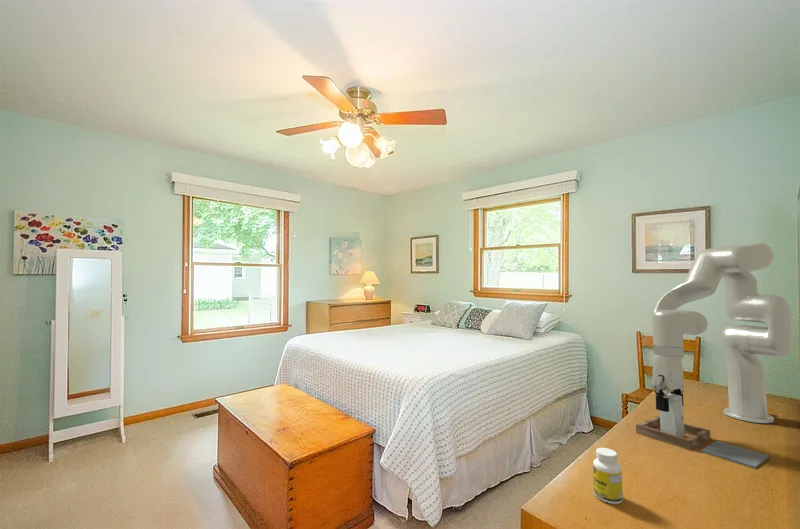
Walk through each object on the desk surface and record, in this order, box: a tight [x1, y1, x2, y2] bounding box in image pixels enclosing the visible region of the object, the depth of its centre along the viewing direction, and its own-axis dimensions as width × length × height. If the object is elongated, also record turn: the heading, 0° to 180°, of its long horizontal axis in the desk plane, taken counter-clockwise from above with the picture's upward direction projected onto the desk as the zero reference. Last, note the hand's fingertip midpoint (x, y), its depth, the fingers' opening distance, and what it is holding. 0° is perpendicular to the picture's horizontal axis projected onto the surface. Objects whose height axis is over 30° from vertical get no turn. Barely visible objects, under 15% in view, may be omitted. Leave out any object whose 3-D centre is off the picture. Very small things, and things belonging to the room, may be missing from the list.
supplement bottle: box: [592, 447, 624, 505], centre depth 79 cm, size 5×5×10 cm
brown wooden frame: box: [635, 415, 711, 451], centre depth 111 cm, size 14×14×2 cm
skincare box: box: [659, 392, 686, 438], centre depth 111 cm, size 6×4×12 cm
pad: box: [701, 440, 770, 470], centre depth 98 cm, size 11×11×1 cm
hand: (669, 408), depth 111 cm, fingers open, 9 cm apart
